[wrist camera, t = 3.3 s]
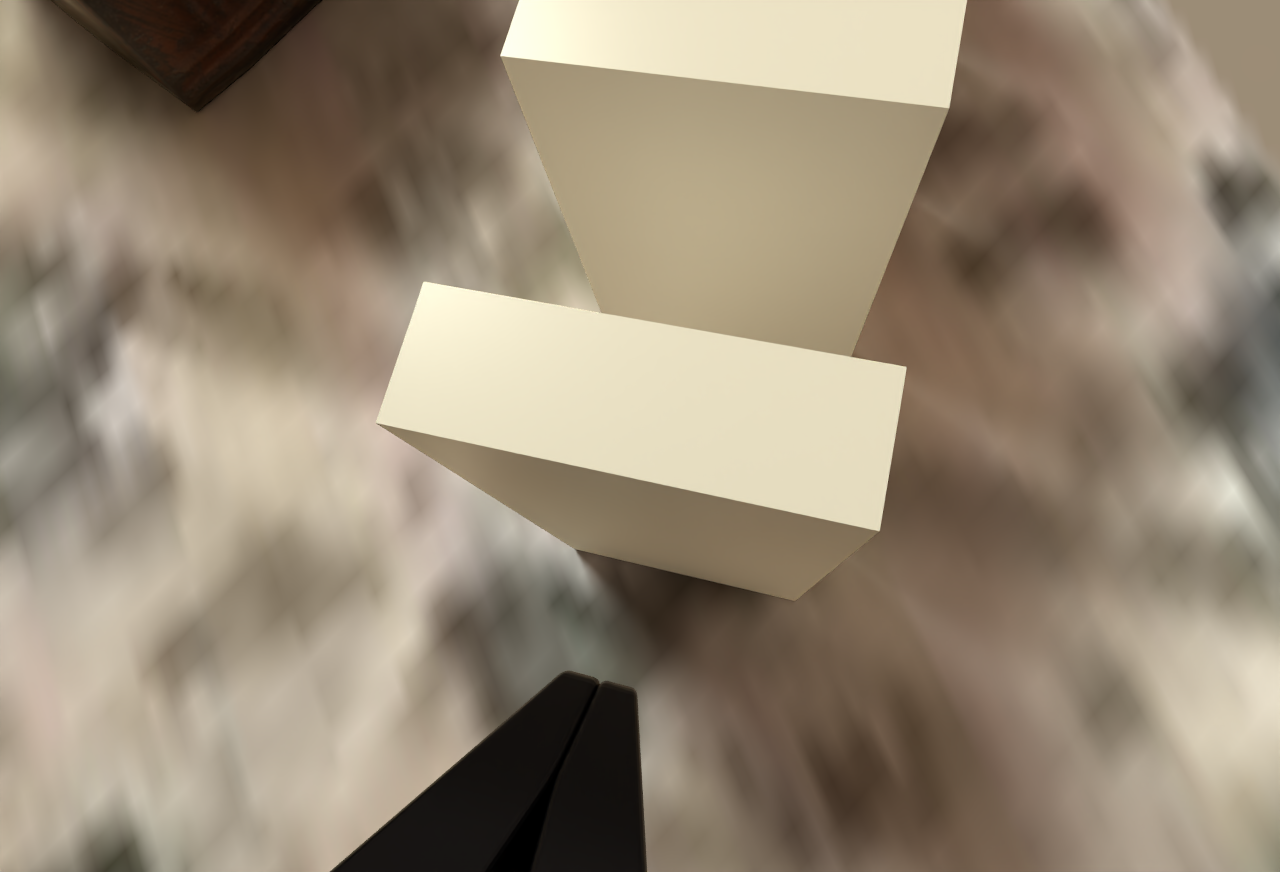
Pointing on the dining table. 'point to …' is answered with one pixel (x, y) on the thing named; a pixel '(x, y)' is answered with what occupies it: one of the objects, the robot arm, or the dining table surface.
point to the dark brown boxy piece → (189, 37)
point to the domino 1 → (736, 151)
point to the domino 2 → (652, 435)
